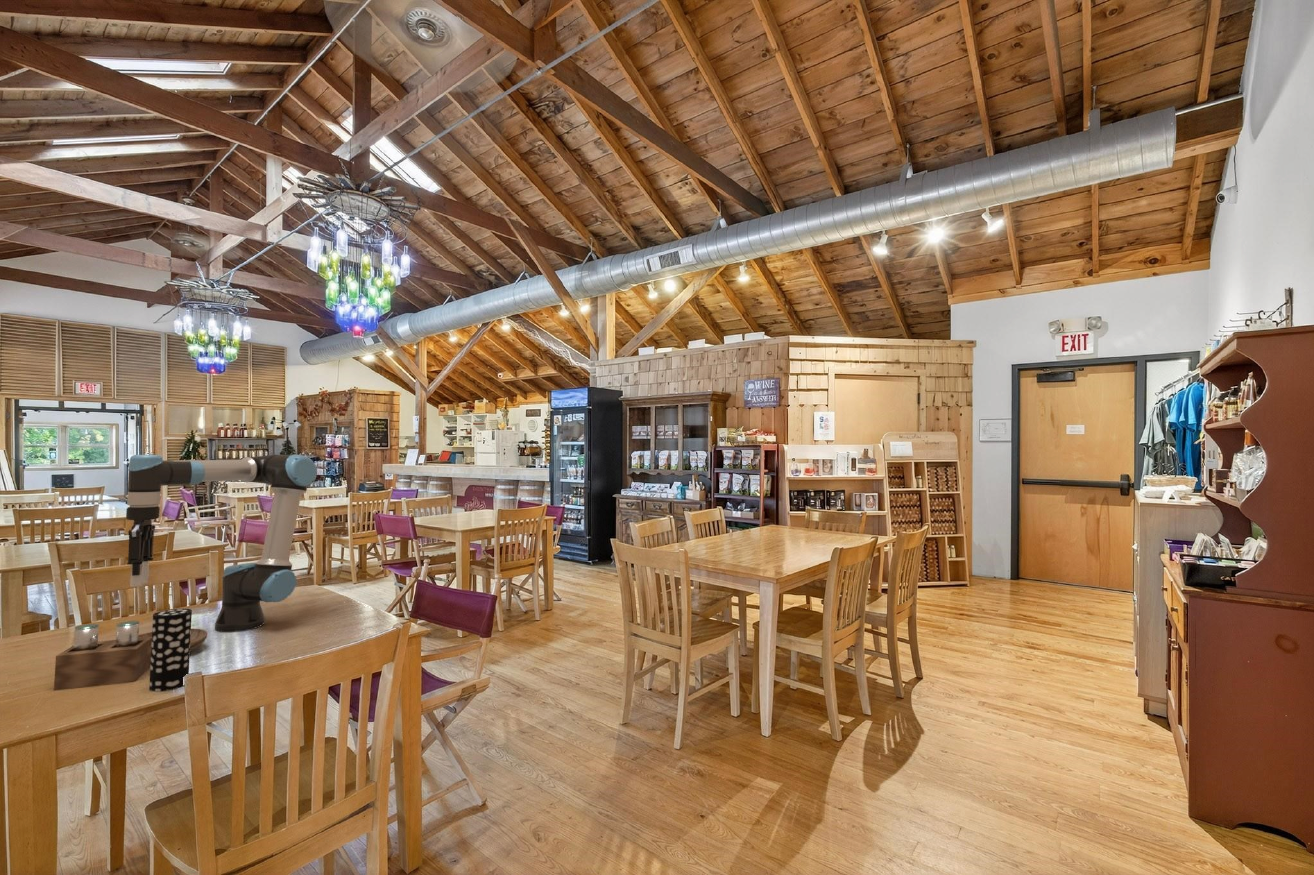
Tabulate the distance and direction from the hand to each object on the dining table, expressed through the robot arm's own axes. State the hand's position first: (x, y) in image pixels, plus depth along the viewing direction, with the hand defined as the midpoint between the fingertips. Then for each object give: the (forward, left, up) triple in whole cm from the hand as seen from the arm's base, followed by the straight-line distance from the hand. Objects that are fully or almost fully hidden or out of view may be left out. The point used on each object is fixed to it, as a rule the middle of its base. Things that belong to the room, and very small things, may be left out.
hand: (139, 584), depth 176 cm
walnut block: (+4, +7, -25) cm, 26 cm away
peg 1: (+9, +7, -18) cm, 21 cm away
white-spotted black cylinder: (-14, +20, -25) cm, 35 cm away
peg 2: (0, +7, -18) cm, 19 cm away
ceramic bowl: (-2, -13, -25) cm, 28 cm away
